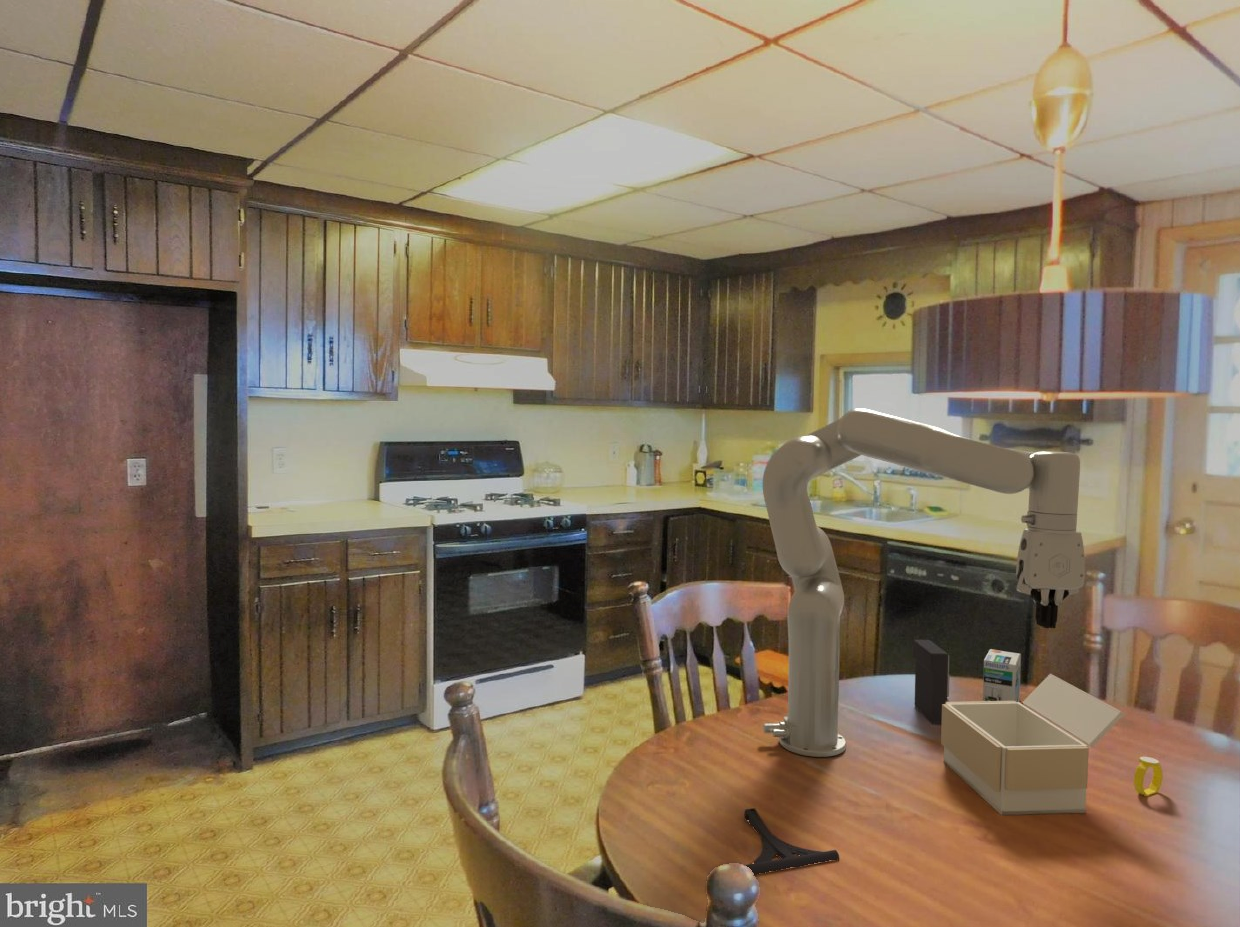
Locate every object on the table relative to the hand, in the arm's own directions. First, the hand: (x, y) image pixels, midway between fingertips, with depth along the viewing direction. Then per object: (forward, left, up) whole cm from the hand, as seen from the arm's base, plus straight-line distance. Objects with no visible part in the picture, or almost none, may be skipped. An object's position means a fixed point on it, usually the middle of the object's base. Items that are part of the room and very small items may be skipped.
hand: (1045, 626), depth 141 cm
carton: (-7, -3, -27) cm, 28 cm away
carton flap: (+3, -3, -13) cm, 14 cm away
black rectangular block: (-6, +30, -27) cm, 41 cm away
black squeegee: (-53, -19, -28) cm, 63 cm away
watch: (+15, -7, -27) cm, 32 cm away
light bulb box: (+13, +36, -28) cm, 47 cm away
